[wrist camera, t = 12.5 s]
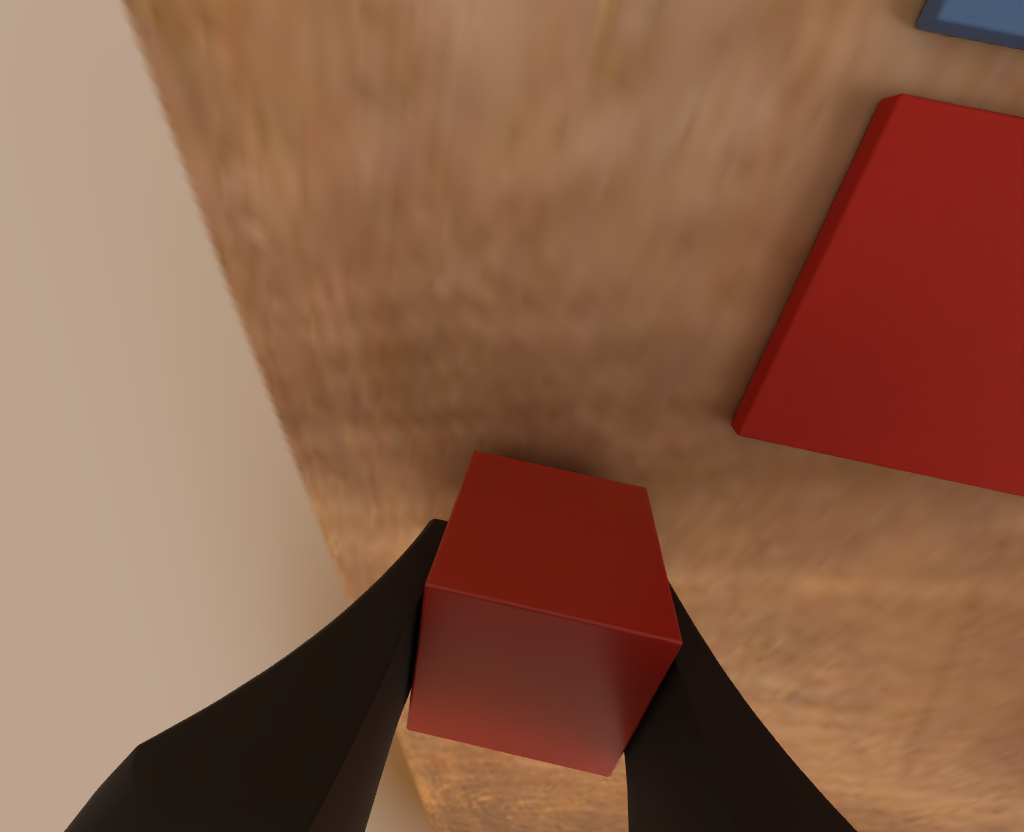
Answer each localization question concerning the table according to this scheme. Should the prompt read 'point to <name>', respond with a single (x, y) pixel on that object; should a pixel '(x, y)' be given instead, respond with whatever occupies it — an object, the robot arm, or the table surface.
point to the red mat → (910, 306)
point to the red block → (544, 617)
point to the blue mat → (976, 20)
